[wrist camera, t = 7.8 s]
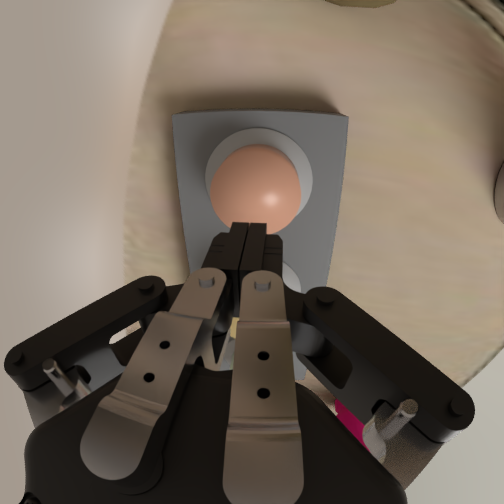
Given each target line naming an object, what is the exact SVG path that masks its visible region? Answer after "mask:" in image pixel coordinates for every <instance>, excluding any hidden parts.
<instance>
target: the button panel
mask: <svg viewBox="0 0 504 504" xmlns="http://www.w3.org/2000/svg"><path fill="white" fill-rule="evenodd" d="M348 118H349V117H348V116H345V115H343V114H339V113H330V112H319V111H307V110H290V109H215V110H198V111H185V112H180V113H177V114H173V115H172V125H173V138H174V150H175V161H176V171H177V180H178V189H179V198H180V206H181V214H182V221H183V229H184V236H185V243H186V249H187V256H188V262H189V269H190V274H191V273H192V272H194V271H196V270H198V269H201V266H202V264H203V262H204V259H205V257H206V254H207V252H208V250H209V247H210V246H211V242H212V240H213V238H214V237H215V236H217V235H218V234H219V233H220V232H227V233H229V231H230V228H229V227H228V226H227V225H225V224H224V223H223V222H222V221H221V220H220V219H219V217H218V216H217V214H216V213H215V211H214V209H213V206H212V203H211V198H210V187H211V182H212V179H213V177H214V174H215V173H216V171H217V170H218V168H219V167H220V165H221V164H222V163H223V161H224V160H225V159H226V158H227V156H228V155H229V154H231V153H232V152H233V151H235V150H236V149H238V148H240V147H243V146H246V145H250V144H264V145H269V146H272V147H275V148H277V149H278V150H280V151H282V152H283V153H284V154H286V155H287V156H288V157H289V159H290V160H291V161H292V162H293V164H294V166H295V168H296V170H297V173H298V177H299V182H300V187H301V203H300V207H299V210H298V212H297V214H296V216H295V217H294V219H293V220H292V221H291V222H290V223H289V224H288V225H287V226H286V227H284V228H283V229H281V230H280V231H278V232H275V233H273V234H277V235H279V236H280V238H281V239H282V240H283V273H282V277H283V281H284V283H285V284H286V285H287V286H288V287H289V288H290V289H292V290H294V291H297V292H300V293H304V294H306V292H307V291H308V290H310V289H312V288H315V287H320V286H324V287H326V284H327V279H328V274H329V268H330V263H331V257H332V251H333V246H334V239H335V233H336V227H337V220H338V213H339V206H340V199H341V191H342V183H343V174H344V165H345V155H346V144H347V132H348ZM234 350H235V338H233V337H231V336H230V337H229V341H228V344H227V347H226V350H225V354H224V357H223V360H222V363H221V367H220V370H219V371H223V370H230V364H231V359H232V355H233V353H234ZM292 352H293V351H292ZM293 364H294V375H295V380H304V378H305V374H306V370H307V368H306V367H305V366H304V365H303V364H302V363H301V362H300V361H299V359H298V358H297V356H296V352H293Z"/></svg>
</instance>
